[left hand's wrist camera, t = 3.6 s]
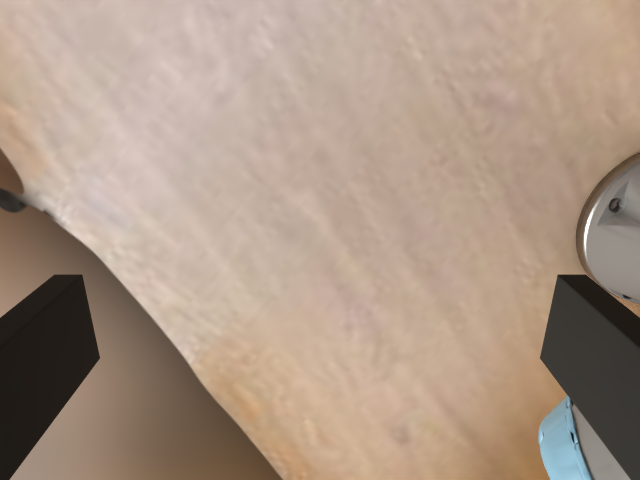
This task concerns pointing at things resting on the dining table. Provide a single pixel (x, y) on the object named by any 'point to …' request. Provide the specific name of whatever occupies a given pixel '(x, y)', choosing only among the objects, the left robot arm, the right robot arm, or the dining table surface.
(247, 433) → the dining table surface
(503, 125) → the dining table surface
